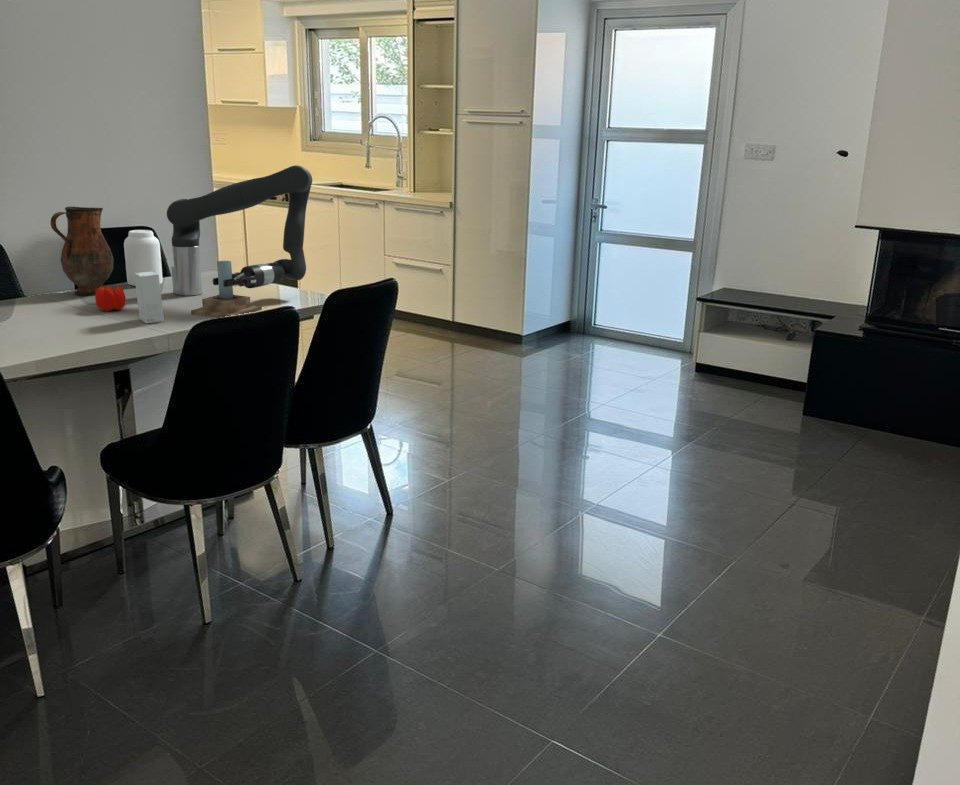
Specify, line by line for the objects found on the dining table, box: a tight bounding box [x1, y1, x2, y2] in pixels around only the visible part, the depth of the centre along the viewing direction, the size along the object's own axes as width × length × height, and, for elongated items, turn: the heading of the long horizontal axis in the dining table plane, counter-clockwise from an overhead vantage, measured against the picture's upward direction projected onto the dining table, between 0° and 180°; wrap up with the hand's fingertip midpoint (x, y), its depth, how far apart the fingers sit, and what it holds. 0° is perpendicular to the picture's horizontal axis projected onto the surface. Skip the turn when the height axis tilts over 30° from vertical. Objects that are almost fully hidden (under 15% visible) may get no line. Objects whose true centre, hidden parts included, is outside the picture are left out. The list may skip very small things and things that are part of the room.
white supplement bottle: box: [123, 229, 164, 287], centre depth 320 cm, size 12×12×20 cm
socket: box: [190, 294, 263, 318], centre depth 282 cm, size 16×16×4 cm
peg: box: [216, 260, 234, 300], centre depth 279 cm, size 4×4×14 cm
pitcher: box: [50, 206, 114, 297], centre depth 297 cm, size 17×21×30 cm
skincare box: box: [134, 272, 165, 324], centre depth 264 cm, size 8×6×15 cm
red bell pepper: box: [94, 286, 127, 312], centre depth 278 cm, size 9×9×8 cm
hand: (219, 282), depth 277 cm, fingers closed on peg, 4 cm apart
